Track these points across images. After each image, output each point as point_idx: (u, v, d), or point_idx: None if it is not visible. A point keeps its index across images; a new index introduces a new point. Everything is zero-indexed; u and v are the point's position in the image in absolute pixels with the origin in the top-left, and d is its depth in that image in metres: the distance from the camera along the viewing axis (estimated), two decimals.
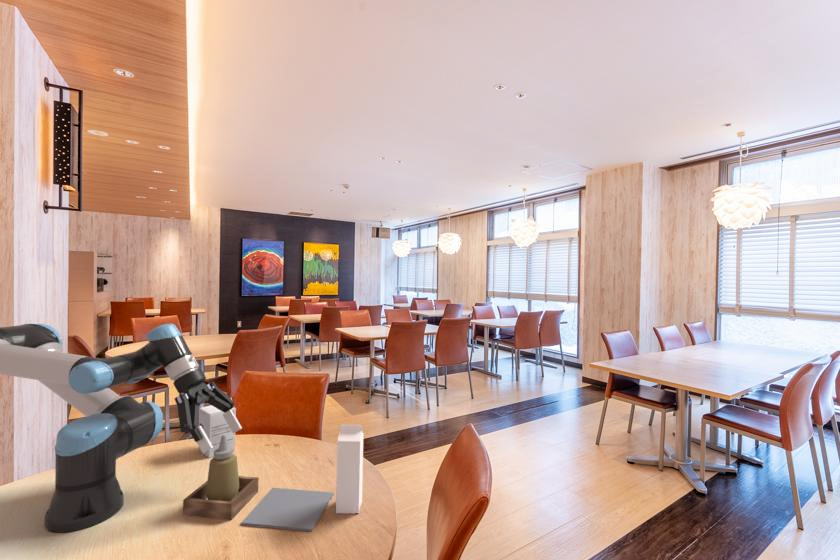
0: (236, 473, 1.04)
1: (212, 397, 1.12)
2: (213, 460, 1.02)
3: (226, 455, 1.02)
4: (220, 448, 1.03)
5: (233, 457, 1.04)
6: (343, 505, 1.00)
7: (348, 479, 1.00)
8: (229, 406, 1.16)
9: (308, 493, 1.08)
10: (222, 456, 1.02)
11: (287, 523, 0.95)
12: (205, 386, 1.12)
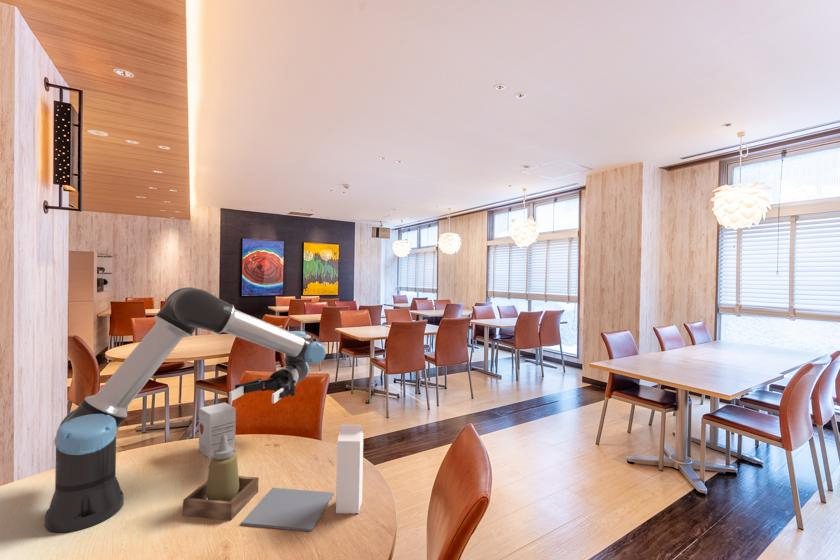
0: (236, 473, 1.04)
1: (263, 389, 1.30)
2: (213, 460, 1.02)
3: (226, 455, 1.02)
4: (220, 448, 1.03)
5: (233, 457, 1.04)
6: (343, 505, 1.00)
7: (348, 479, 1.00)
8: None
9: (308, 493, 1.08)
10: (222, 456, 1.02)
11: (287, 523, 0.95)
12: None
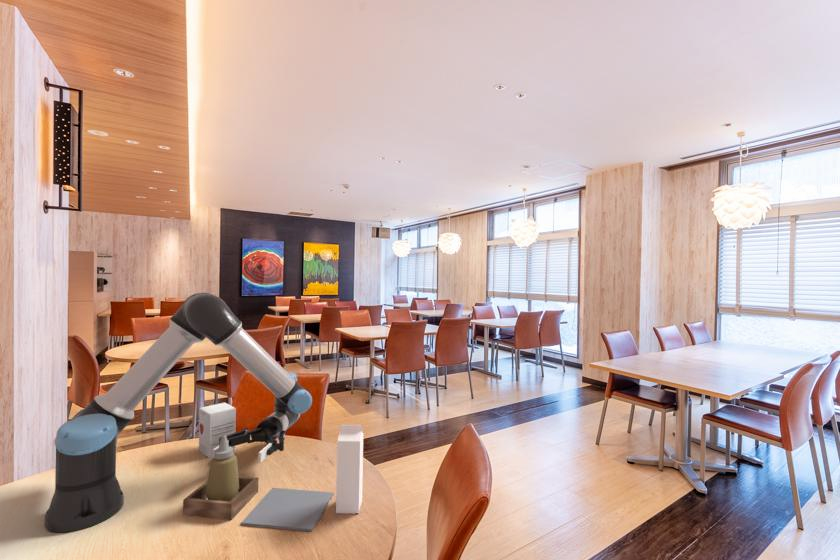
0: (236, 473, 1.04)
1: (249, 441, 1.21)
2: (213, 460, 1.02)
3: (226, 455, 1.02)
4: (220, 448, 1.03)
5: (233, 457, 1.04)
6: (343, 505, 1.00)
7: (348, 480, 1.00)
8: None
9: (308, 493, 1.08)
10: (222, 456, 1.02)
11: (287, 523, 0.95)
12: None
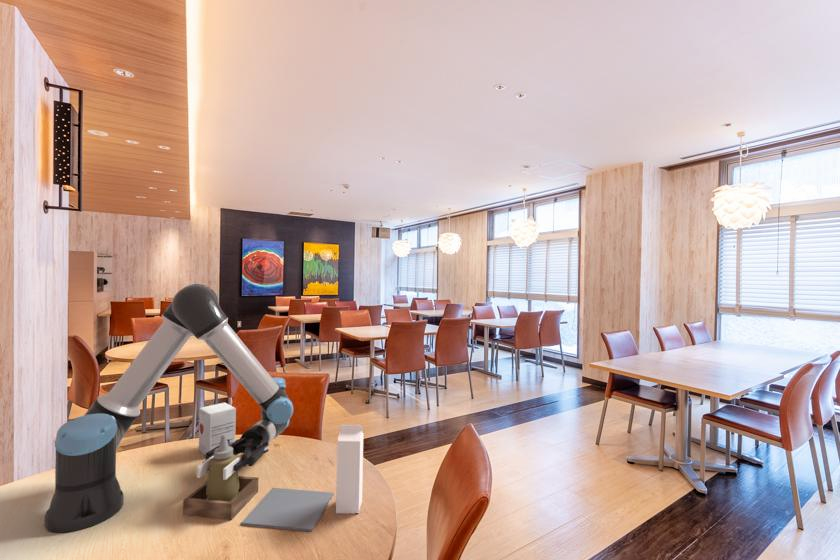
0: (236, 473, 1.04)
1: (235, 454, 1.13)
2: (213, 460, 1.02)
3: (226, 455, 1.02)
4: (220, 448, 1.03)
5: (233, 457, 1.04)
6: (343, 505, 1.00)
7: (348, 479, 1.00)
8: None
9: (308, 493, 1.08)
10: (222, 456, 1.02)
11: (287, 523, 0.95)
12: None
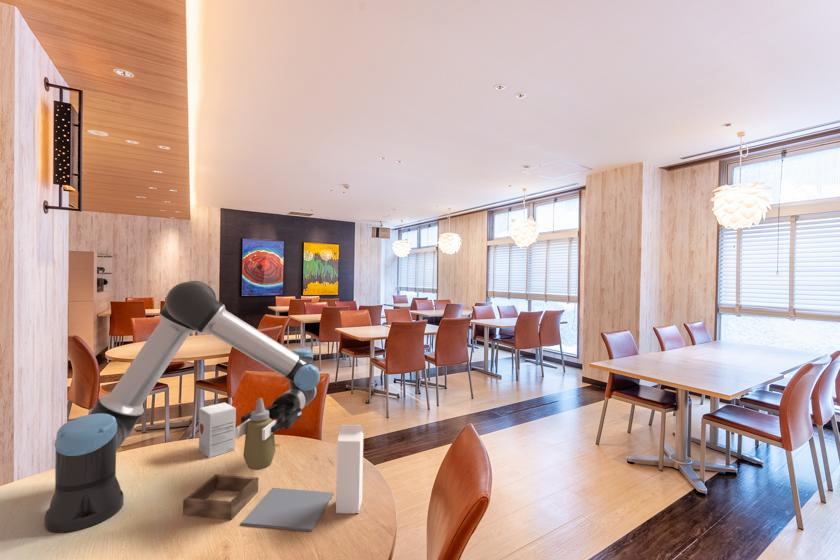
0: (273, 435, 1.04)
1: None
2: (250, 422, 1.02)
3: (263, 417, 1.02)
4: (257, 410, 1.03)
5: (269, 420, 1.04)
6: (343, 505, 1.00)
7: (348, 479, 1.00)
8: None
9: (308, 493, 1.08)
10: (259, 418, 1.02)
11: (287, 523, 0.95)
12: None
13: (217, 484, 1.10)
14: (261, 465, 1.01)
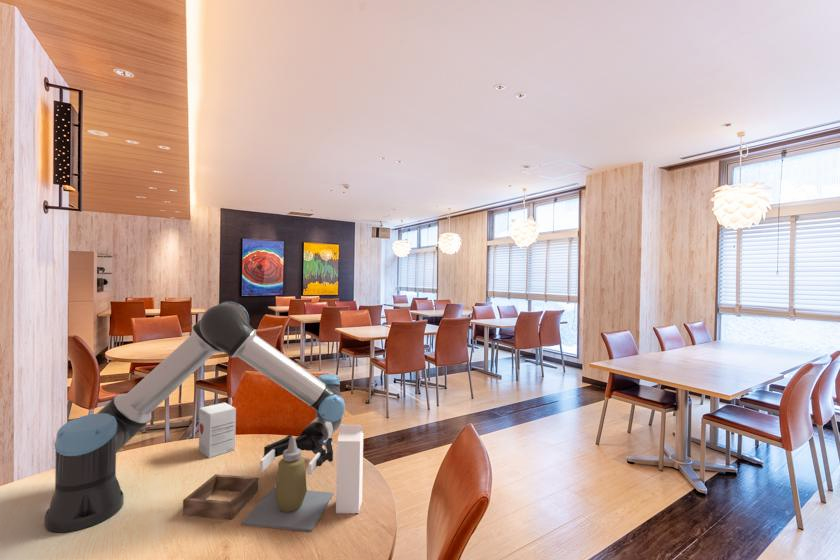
0: (304, 476, 1.02)
1: None
2: (282, 462, 1.00)
3: (296, 457, 1.01)
4: (289, 450, 1.01)
5: (301, 459, 1.02)
6: (343, 505, 1.00)
7: (348, 479, 1.00)
8: None
9: (308, 493, 1.08)
10: (292, 458, 1.00)
11: (287, 523, 0.95)
12: None
13: (217, 484, 1.10)
14: (293, 507, 0.99)
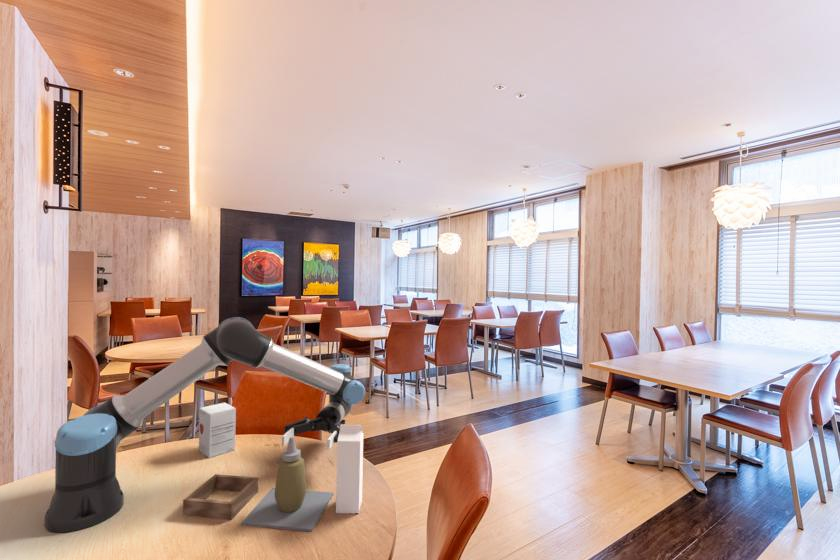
0: (304, 476, 1.02)
1: (312, 430, 1.24)
2: (282, 462, 1.00)
3: (295, 457, 1.00)
4: (289, 450, 1.01)
5: (301, 459, 1.02)
6: (343, 505, 1.00)
7: (348, 479, 1.00)
8: None
9: (308, 493, 1.08)
10: (291, 458, 1.00)
11: (287, 523, 0.95)
12: None
13: (217, 484, 1.10)
14: (293, 507, 0.99)
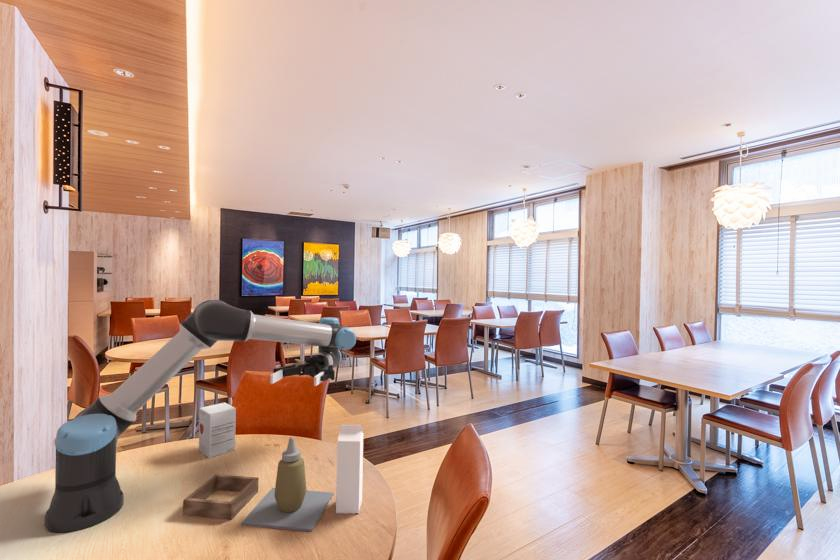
0: (304, 476, 1.02)
1: (300, 374, 1.28)
2: (282, 463, 1.00)
3: (295, 457, 1.00)
4: (289, 450, 1.01)
5: (301, 459, 1.02)
6: (343, 505, 1.00)
7: (348, 480, 1.00)
8: None
9: (308, 493, 1.08)
10: (291, 458, 1.00)
11: (287, 523, 0.95)
12: None
13: (217, 484, 1.10)
14: (293, 507, 0.99)
